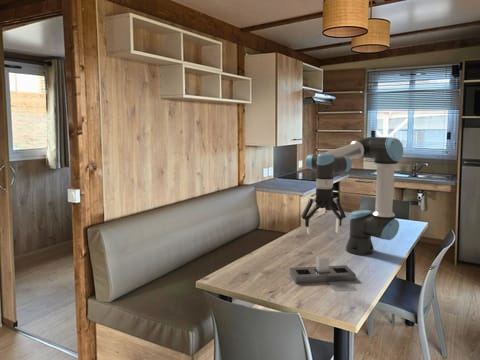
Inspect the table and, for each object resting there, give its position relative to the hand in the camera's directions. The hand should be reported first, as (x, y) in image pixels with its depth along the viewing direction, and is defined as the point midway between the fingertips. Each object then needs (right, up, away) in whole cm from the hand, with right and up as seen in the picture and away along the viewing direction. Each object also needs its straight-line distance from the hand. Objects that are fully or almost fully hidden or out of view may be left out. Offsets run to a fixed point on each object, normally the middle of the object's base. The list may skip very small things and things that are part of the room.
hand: (322, 233), depth 191 cm
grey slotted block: (0, -22, +3) cm, 22 cm away
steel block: (0, -21, +3) cm, 21 cm away
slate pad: (+7, -24, -7) cm, 26 cm away
